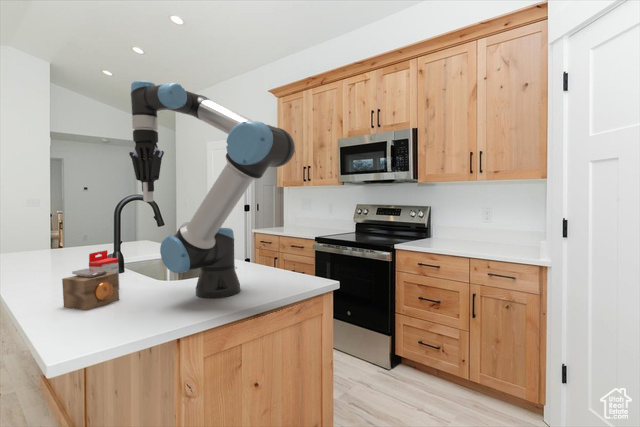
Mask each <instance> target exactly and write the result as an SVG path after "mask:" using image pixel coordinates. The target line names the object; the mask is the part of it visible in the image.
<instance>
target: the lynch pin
mask: <svg viewBox="0 0 640 427" xmlns="http://www.w3.org/2000/svg"><path fill="white" fill-rule="evenodd" d="M94 294H95V297H96V298H97V299H98V300H107V299H109V298H110V297H111V296H112V294H113V286H112V284H111V283H109V282H101V283H99V284H98V285H97V286H96V288H95V291H94Z"/></svg>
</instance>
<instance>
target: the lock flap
mask: <svg viewBox="0 0 640 427" xmlns="http://www.w3.org/2000/svg"><path fill="white" fill-rule="evenodd" d="M106 273H107V272H106V271H98V270H93V269H89V267H87V268H84V269H77V270H73V271H72V273H71V274H72V275H74V276H76V275H80V276H84V277H88V278H92V277H96V276H100V275H105V274H106Z"/></svg>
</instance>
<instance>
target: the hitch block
mask: <svg viewBox="0 0 640 427" xmlns="http://www.w3.org/2000/svg"><path fill="white" fill-rule="evenodd" d="M61 280H62V281H61V282H62V296H63V297H62V300H63V308H67V307H68V308H67V309H73V308H74V309H76V310H80V309H81V311H88V310H92V309H95V308H99V307H102V306H104V305H108V304H110V303H113V302H116V301H119V300H120V284H119V285H118V273H112V272H107V273H106V274H105V275H100V276H96V277H92V278H88V277H84V276H80V275H73V276H67V277H64V278H62V279H61ZM101 282H109V283H111V284H112V286H113V294H112V296H111V297H110V298H109V299H107V300H98V299H97V298H96V297H95V294H94V291H95V288H96V286H97V285H98V284H99V283H101Z"/></svg>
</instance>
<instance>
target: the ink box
mask: <svg viewBox="0 0 640 427" xmlns="http://www.w3.org/2000/svg"><path fill="white" fill-rule="evenodd" d="M108 252H109V251H108V250H102V251H97V252H90V253H89V254H88V269H93V270H98V271H106V272H112V273H118V285H119V286H120V271H119V269H120V268H119V267H120V266H119V258H118V257H108ZM98 255H100V256H98Z"/></svg>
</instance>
